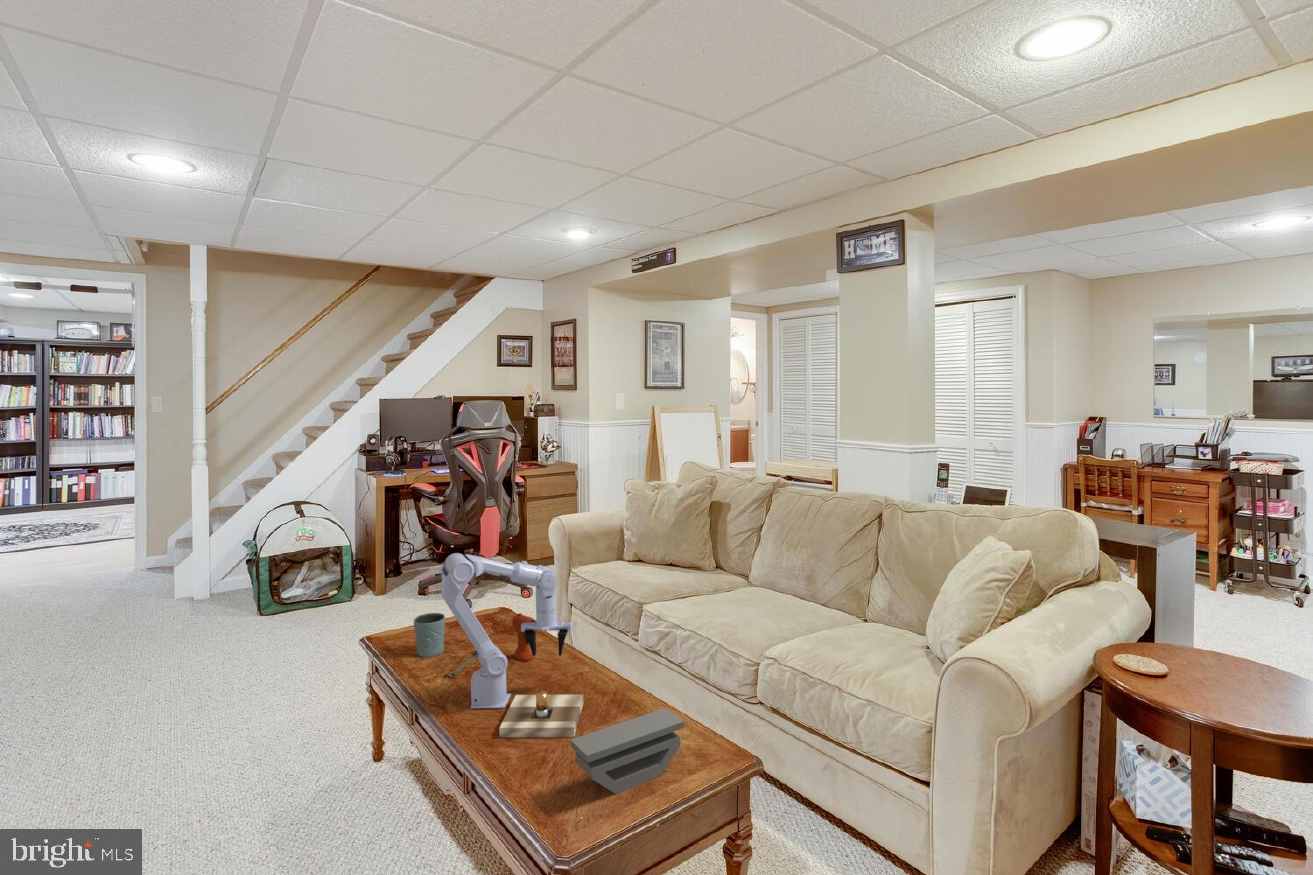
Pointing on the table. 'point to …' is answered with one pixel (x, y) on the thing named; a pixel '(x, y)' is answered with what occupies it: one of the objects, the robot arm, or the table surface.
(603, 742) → the grey tapered block
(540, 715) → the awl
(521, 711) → the board
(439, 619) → the teal cup
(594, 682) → the table surface
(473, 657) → the tomahawk
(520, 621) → the toy drill
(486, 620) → the table surface
